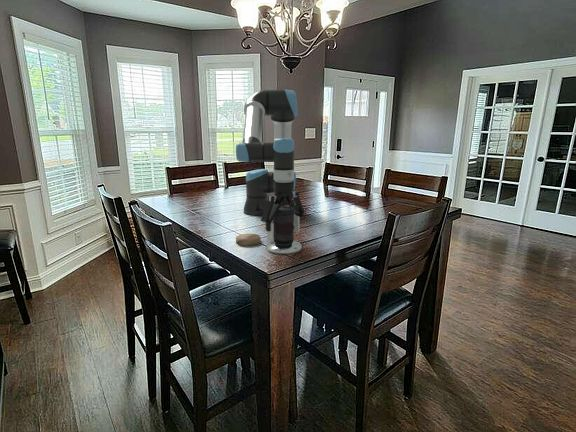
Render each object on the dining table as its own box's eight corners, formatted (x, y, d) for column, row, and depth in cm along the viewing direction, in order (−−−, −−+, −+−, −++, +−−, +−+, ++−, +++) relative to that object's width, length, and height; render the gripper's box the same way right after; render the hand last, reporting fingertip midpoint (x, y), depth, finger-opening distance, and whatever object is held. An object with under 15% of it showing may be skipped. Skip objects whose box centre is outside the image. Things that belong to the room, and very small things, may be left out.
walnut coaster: (230, 244, 138) (230, 238, 137) (246, 237, 146) (246, 232, 146) (250, 248, 133) (250, 242, 132) (265, 241, 141) (265, 236, 140)
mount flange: (258, 249, 131) (258, 247, 130) (278, 239, 142) (278, 237, 142) (289, 257, 124) (289, 254, 123) (308, 246, 135) (308, 243, 135)
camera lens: (276, 241, 137) (275, 205, 133) (295, 243, 135) (296, 206, 132) (270, 248, 130) (270, 210, 126) (291, 250, 128) (291, 211, 124)
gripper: (264, 185, 115) (264, 245, 121) (314, 178, 132) (312, 230, 137) (250, 183, 121) (252, 239, 126) (300, 176, 137) (299, 226, 142)
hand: (283, 235), depth 132 cm, fingers open, 13 cm apart
